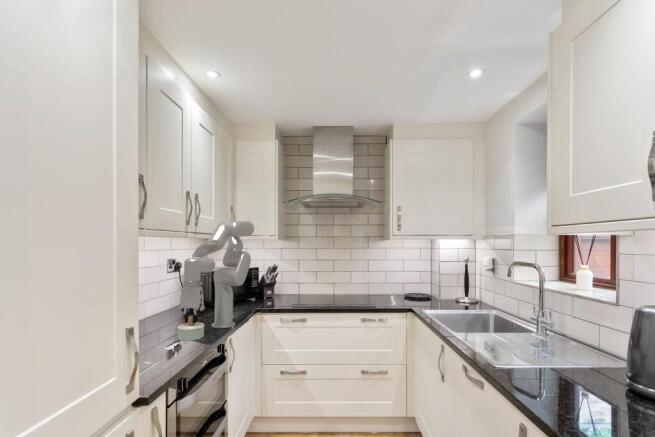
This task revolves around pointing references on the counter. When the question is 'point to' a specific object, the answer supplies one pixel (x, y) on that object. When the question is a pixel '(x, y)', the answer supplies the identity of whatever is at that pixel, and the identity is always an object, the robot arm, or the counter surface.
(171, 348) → the mat
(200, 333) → the bowl
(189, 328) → the lid
